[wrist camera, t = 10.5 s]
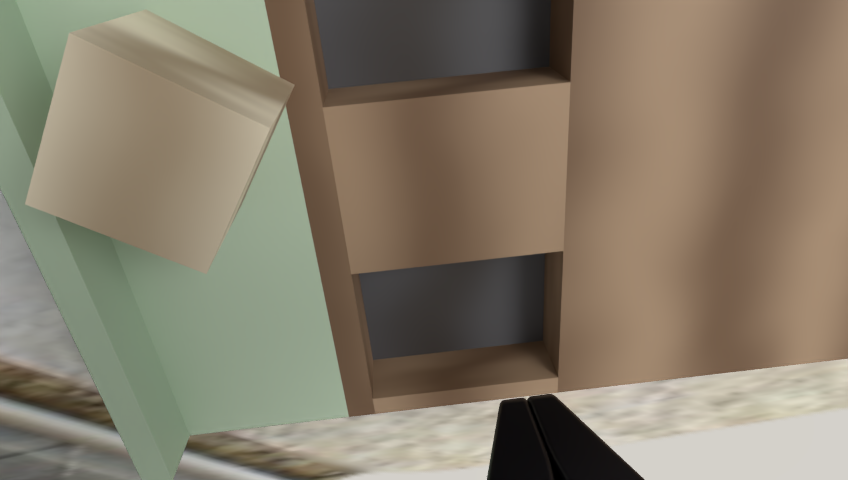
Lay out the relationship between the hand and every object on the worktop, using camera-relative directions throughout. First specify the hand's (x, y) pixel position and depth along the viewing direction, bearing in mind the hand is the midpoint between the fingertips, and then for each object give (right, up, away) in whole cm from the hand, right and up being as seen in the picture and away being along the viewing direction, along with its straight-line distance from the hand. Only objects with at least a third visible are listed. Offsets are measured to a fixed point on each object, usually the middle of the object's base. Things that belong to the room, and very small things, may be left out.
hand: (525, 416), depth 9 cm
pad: (-8, +5, +10) cm, 14 cm away
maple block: (-8, +6, +7) cm, 12 cm away
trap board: (+5, +6, +11) cm, 13 cm away
